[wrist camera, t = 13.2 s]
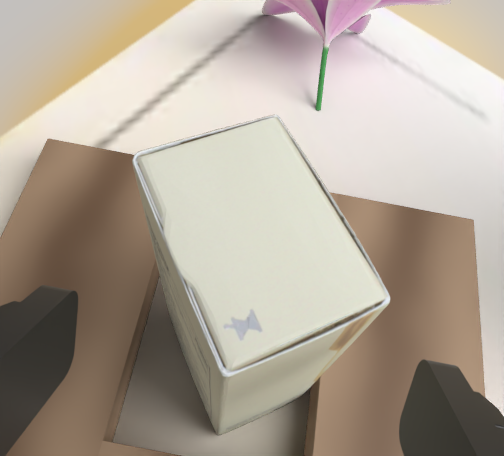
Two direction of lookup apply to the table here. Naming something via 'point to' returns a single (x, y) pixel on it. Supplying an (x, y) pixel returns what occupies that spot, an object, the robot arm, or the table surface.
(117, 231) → the walnut board
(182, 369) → the table surface
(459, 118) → the table surface
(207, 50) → the table surface
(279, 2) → the lily
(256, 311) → the skincare box
